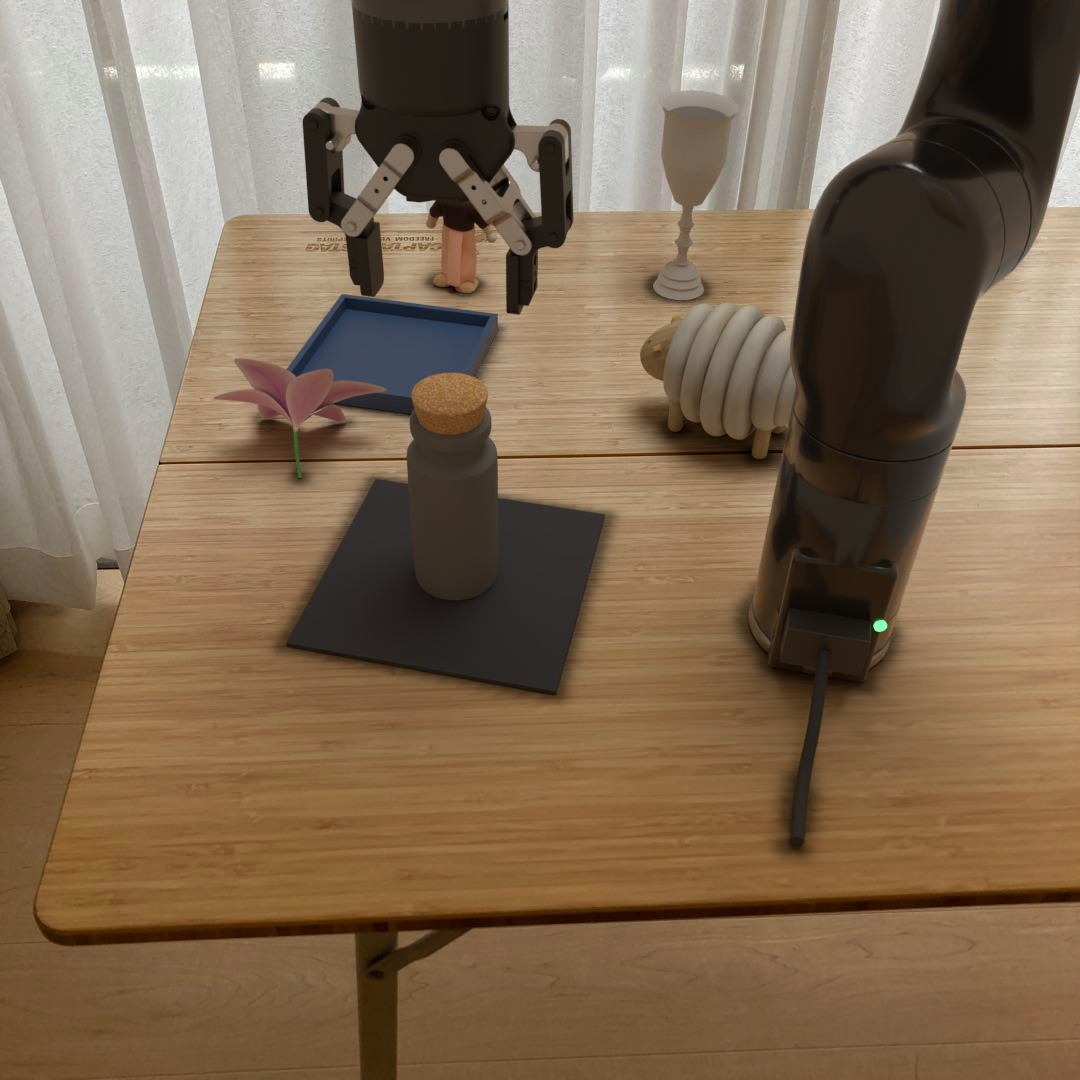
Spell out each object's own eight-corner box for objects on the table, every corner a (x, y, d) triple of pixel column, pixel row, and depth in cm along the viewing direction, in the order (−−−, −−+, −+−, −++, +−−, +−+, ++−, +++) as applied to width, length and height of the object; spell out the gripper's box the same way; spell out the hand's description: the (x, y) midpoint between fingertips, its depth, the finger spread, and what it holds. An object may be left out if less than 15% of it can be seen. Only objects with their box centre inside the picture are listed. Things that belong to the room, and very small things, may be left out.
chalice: (630, 277, 112) (646, 95, 100) (689, 265, 114) (710, 86, 102) (667, 311, 107) (687, 124, 95) (727, 297, 109) (754, 113, 97)
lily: (410, 459, 90) (394, 339, 88) (323, 486, 80) (303, 351, 78) (291, 464, 95) (274, 351, 93) (195, 490, 85) (173, 364, 83)
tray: (453, 420, 92) (453, 403, 91) (281, 395, 95) (279, 378, 93) (498, 329, 104) (497, 313, 102) (343, 309, 106) (341, 293, 105)
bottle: (503, 548, 80) (502, 370, 70) (492, 605, 75) (490, 423, 66) (423, 542, 80) (411, 363, 70) (407, 597, 76) (392, 415, 66)
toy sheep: (656, 376, 98) (669, 261, 91) (846, 426, 93) (875, 308, 86) (611, 439, 91) (620, 319, 83) (814, 497, 86) (843, 374, 78)
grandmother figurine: (417, 288, 109) (410, 162, 101) (431, 270, 112) (426, 146, 104) (491, 300, 108) (490, 174, 99) (504, 282, 111) (504, 158, 102)
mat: (555, 694, 70) (556, 691, 70) (286, 646, 73) (285, 643, 72) (604, 517, 83) (605, 514, 83) (375, 481, 86) (375, 478, 86)
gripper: (258, 3, 51) (302, 316, 62) (560, 27, 49) (553, 347, 60) (317, -36, 57) (348, 257, 67) (590, -17, 55) (578, 283, 65)
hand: (444, 299), depth 64 cm, fingers open, 8 cm apart
